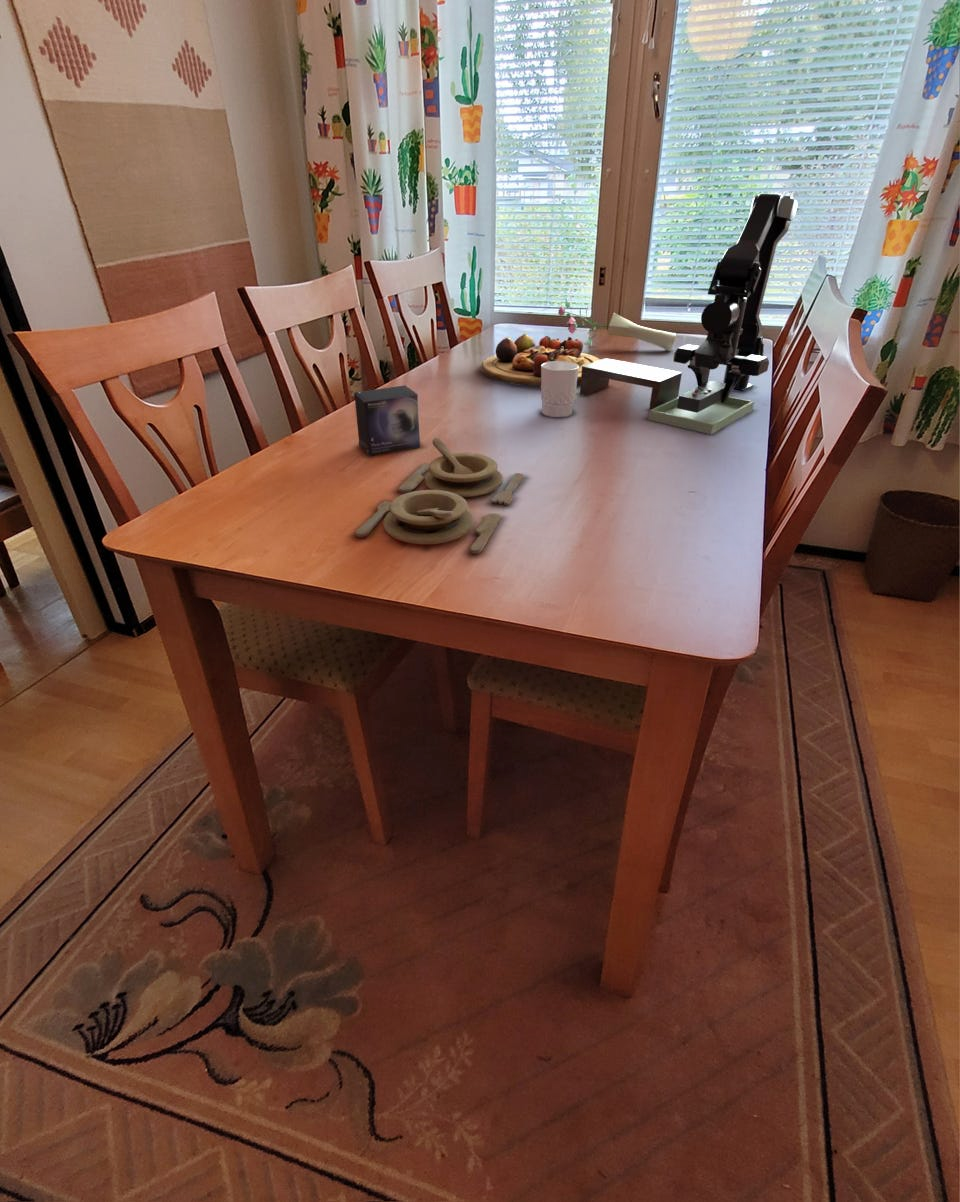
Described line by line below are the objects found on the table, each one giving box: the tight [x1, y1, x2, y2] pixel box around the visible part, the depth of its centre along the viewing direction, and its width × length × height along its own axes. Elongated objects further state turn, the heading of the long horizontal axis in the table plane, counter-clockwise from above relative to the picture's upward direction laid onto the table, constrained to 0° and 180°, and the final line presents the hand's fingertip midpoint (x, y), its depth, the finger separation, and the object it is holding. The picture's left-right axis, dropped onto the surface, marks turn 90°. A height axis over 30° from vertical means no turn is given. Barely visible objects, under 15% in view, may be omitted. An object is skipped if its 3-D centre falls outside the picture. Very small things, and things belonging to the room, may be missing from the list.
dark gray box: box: [677, 380, 726, 413], centre depth 137 cm, size 15×5×3 cm, turn 138°
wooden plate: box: [481, 333, 601, 387], centre depth 168 cm, size 32×32×8 cm
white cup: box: [540, 361, 579, 418], centre depth 139 cm, size 8×8×10 cm
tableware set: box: [354, 437, 525, 555], centre depth 102 cm, size 30×20×6 cm, turn 164°
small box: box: [353, 385, 421, 457], centre depth 122 cm, size 11×6×10 cm, turn 117°
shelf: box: [579, 357, 683, 412], centre depth 149 cm, size 10×20×6 cm, turn 48°
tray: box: [648, 396, 755, 435], centre depth 139 cm, size 20×14×2 cm
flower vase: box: [557, 299, 677, 352], centre depth 191 cm, size 12×12×35 cm
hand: (712, 400), depth 141 cm, fingers closed on dark gray box, 5 cm apart
